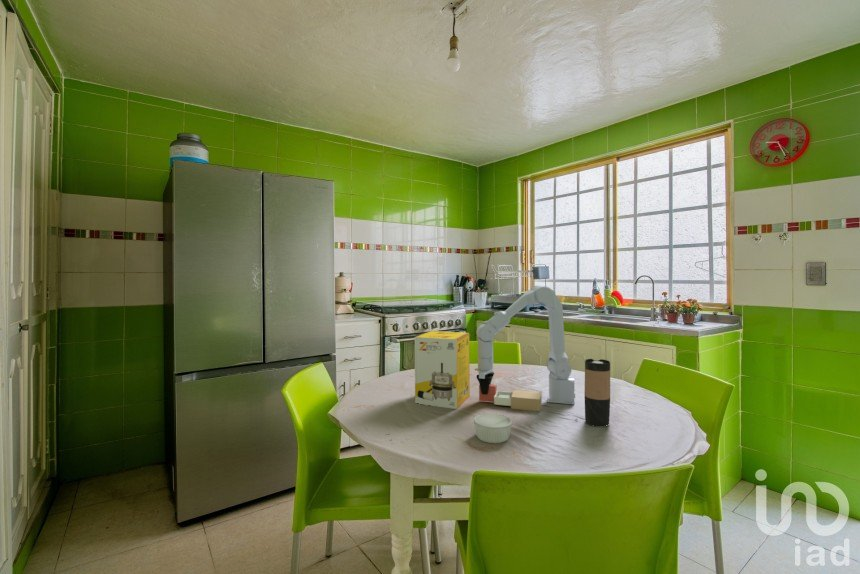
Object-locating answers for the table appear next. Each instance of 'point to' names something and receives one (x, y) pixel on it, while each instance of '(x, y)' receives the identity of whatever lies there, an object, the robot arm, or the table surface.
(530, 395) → the sleeve
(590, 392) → the travel mug
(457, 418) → the table surface
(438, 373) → the packaging box
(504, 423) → the ramekin
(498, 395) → the red and white box
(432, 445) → the table surface
